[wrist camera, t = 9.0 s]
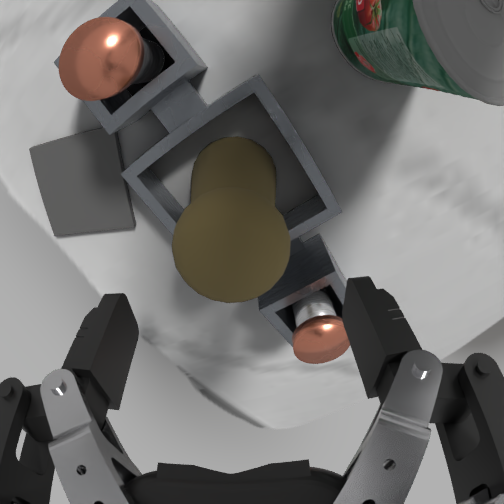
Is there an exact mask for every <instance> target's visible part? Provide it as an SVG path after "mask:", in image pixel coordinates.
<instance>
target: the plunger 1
mask: <svg viewBox="0 0 504 504" xmlns="http://www.w3.org/2000/svg"><path fill="white" fill-rule="evenodd" d="M163 65H164V53H163V50H162V49H161V47H160V46H159V45H158V44H157V43H155V42H153V41H150V40H147V39H144V38H142V37H141V35H140V34H139V32H138V31H137V30H136V29H135V28H134V27H133V26H132V25H131V24H129V23H127V22H124V21H122V20H119V19H116V18H112V17H99V18H95V19H92V20H90V21H87V22H86V23H84V24H82V25H81V26H79V27H78V28H77V29H76V30H75V31H74V32H73V33H72V34H71V35H70V36H69V38H68V39H67V41H66V42H65V44H64V46H63V48H62V51H61V54H60V59H59V74H60V78H61V81H62V83H63V85H64V87H65V88H66V90H67V91H68V92H69V93H70V94H71V95H73V96H74V97H76V98H78V99H81V100H85V101H96V100H101V99H105V98H109V97H112V96H115V95H117V94H119V93H121V92H122V91H124V90H125V89H126V88H128V87H129V86H130V85H131V84H138V83H145V82H148V81H150V80H152V79H154V78H155V77H156V76H157V75H158V74H159V73H160V71H161V70H162V68H163Z"/></svg>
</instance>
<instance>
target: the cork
mask: <svg viewBox="0 0 504 504" xmlns="http://www.w3.org/2000/svg"><path fill="white" fill-rule="evenodd" d="M275 197H276V168H275V165H274V162H273V160H272V157H271V156H270V155H269V153H268V152H267V151H266V150H265V149H264V147H262V146H261V145H259V144H257V143H256V142H254V141H253V140H250V139H246V138H242V137H225V138H222V139H219V140H217V141H214V142H212V143H210V144H209V145H208V146H207V147H206V148H204V149H203V150H202V151H201V152H200V154H199V155H198V157H197V159H196V161H195V162H194V166H193V171H192V179H191V204H190V205H189V206H187V207H186V208H185V210H184V211H183V213H182V215H181V217H180V218H179V220H178V222H177V224H176V226H175V229H174V234H173V241H172V252H173V257H174V261H175V265H176V268H177V270H178V271H179V273H180V275H181V276H182V278H183V279H184V281H185V282H186V283H187V284H188V285H189V286H190V287H191V288H193V289H194V290H195V291H196V292H197V293H198V294H200V295H202V296H205V297H207V298H209V299H211V300H215V301H220V302H226V303H234V302H244V301H248V300H251V299H254V298H257V297H259V296H260V295H262V294H264V293H265V292H267V291H268V290H270V289H271V288H272V287H273V286H274V285H275V283H276V282H277V281H278V280H279V279H280V278H281V276H282V275H283V274H284V271H285V269H286V266H287V264H288V261H289V257H290V235H289V232H288V229H287V226H286V223H285V221H284V218H283V216H282V214H281V213H280V212H279V211H278V210H277V208H276V207H275Z"/></svg>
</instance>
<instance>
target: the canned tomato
mask: <svg viewBox="0 0 504 504" xmlns="http://www.w3.org/2000/svg"><path fill="white" fill-rule="evenodd" d="M331 27H332V34H333V37H334V40H335V43H336V45H337V47H338V49H339V51H340V53H341V54H342V55H343V57H344V58H345V59H346V61H347V62H348V63H349V64H350V65H351V66H352V67H353V68H354V69H356V70H357V71H358V72H360V73H361V74H363V75H364V76H366V77H369V78H371V79H373V80H375V81H380V82H384V83H395V84H401V85H407V86H414V87H420V88H426V89H432V90H436V91H442V92H445V93H451V94H454V95H461V96H463V97H468V98H473V99H477V100H480V101H482V102H484V103H487V104H491V105H497V106H503V105H504V0H338V1H337V2H336V4H335V6H334V9H333V12H332V18H331Z"/></svg>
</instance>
